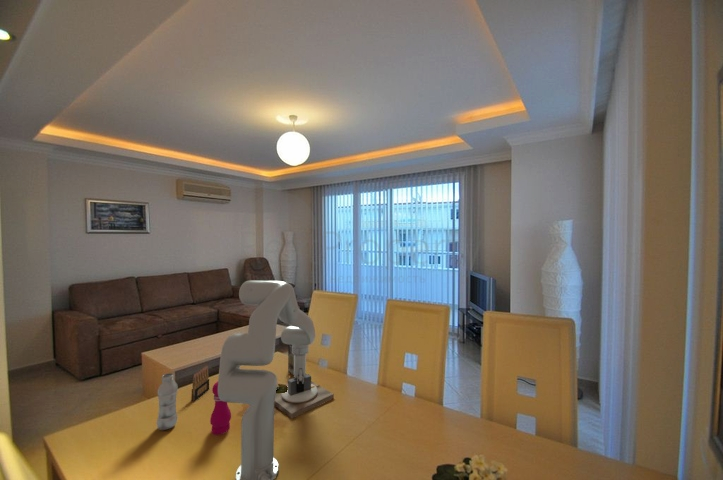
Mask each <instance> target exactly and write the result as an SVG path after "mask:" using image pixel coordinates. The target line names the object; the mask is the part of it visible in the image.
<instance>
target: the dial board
mask: <svg viewBox="0 0 723 480" xmlns="http://www.w3.org/2000/svg"><path fill="white" fill-rule="evenodd" d="M311 384H313V385H315V386H316V387H317V395H316V396H315V397H314V398H313V399H311V400H309V401H306V402H301V403H292V402H288V401H285V400H284V399H283V398H282V393H280V394H276V396H275V403H274V407H275V408H278V409H279V410H280V411H282V413H284V414H285V415H287V416H288V417H289V418H290V419H294V418H297V417H298V416H301V415H302V414H304V413H307V412H309V411H311V410H313V409H314V408H317V407H319V406H321V405H323V404H325V403H326V401H327V402H329V401H331V400H333V399H334V393H333V392H330V391H329V390H327V389H326V388H324V387H322V386H320V384H317V383H315V382H313V381H312V380H311ZM285 386H288V384H285ZM332 398H333V399H332ZM330 399H331V400H330ZM328 400H329V401H328ZM324 402H325V403H324ZM322 403H323V404H322ZM320 404H321V405H320ZM318 405H319V406H318ZM316 406H317V407H316Z"/></svg>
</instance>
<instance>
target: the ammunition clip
mask: <svg viewBox="0 0 723 480" xmlns="http://www.w3.org/2000/svg"><path fill="white" fill-rule="evenodd" d="M209 390H210V378H209V367H208V365H205V366H203V368H201V369H199V370H198V371H197V372H196V373H194V374H193V378H192V389H191V398H190V399H191V400H190V401H191V402H196V401H197V400H198V399H199V398H201V397H202V396H203V395H204V394H206V393H207V392H208V391H209Z"/></svg>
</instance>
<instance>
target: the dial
mask: <svg viewBox="0 0 723 480" xmlns="http://www.w3.org/2000/svg"><path fill="white" fill-rule="evenodd" d="M287 380H288V381H287V385H288V386H287V387H288V390H287V392H285V393H282V398H283V399H284V400H285V401H288V402H292V403H301V402H306V401H309V400H311V399H313V398H314V397H315V396H316V395H317V387H316V386H315V385H313V384H311V381H312V376H311V375H310V374H309V373H307V374H306V373H305V377H304V392H299V393H297V377H296V378H295V377H293V378H289V379H287Z"/></svg>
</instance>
